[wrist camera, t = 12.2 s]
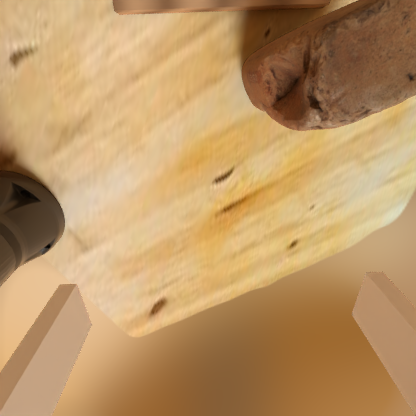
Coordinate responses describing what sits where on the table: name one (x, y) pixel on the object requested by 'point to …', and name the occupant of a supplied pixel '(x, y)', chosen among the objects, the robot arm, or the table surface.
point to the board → (209, 5)
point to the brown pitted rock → (337, 66)
